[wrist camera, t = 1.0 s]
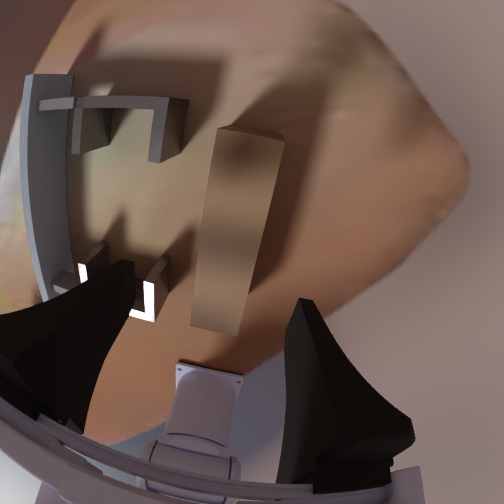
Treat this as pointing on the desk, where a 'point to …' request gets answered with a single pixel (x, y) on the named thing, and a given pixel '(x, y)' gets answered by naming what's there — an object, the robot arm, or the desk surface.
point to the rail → (233, 224)
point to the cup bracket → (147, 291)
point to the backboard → (47, 180)
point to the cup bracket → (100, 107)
